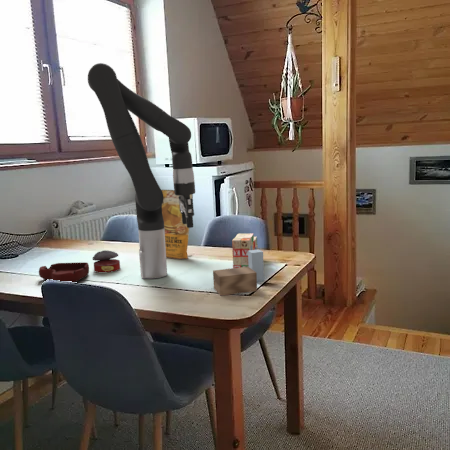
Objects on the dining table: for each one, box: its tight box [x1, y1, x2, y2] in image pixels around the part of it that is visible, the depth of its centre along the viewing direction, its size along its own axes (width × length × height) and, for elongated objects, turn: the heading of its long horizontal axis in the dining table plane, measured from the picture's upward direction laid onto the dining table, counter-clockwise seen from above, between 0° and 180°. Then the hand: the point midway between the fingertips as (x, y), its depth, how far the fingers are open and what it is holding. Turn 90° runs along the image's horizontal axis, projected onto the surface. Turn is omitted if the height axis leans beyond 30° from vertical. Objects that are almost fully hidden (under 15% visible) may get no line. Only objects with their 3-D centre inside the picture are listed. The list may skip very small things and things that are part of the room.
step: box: [212, 267, 258, 296], centre depth 157 cm, size 12×8×6 cm, turn 106°
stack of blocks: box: [231, 233, 259, 268], centre depth 186 cm, size 21×6×12 cm, turn 169°
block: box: [248, 248, 265, 282], centre depth 166 cm, size 4×4×10 cm
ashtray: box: [38, 262, 90, 283], centre depth 177 cm, size 18×16×5 cm
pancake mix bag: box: [161, 189, 194, 260], centre depth 204 cm, size 7×19×28 cm, turn 56°
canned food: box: [92, 250, 121, 273], centre depth 189 cm, size 11×10×10 cm
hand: (187, 225), depth 179 cm, fingers open, 8 cm apart
